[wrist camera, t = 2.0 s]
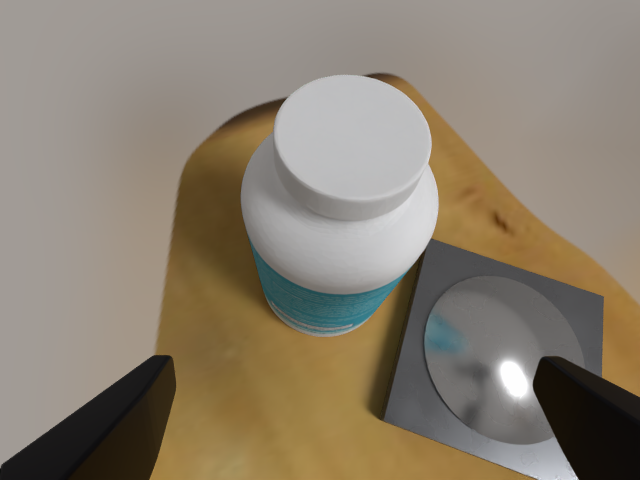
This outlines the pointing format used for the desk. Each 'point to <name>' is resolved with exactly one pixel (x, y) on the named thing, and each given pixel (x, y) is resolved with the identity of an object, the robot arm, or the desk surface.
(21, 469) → the robot arm
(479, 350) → the flange plate
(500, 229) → the desk surface
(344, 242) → the pill bottle
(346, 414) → the desk surface
